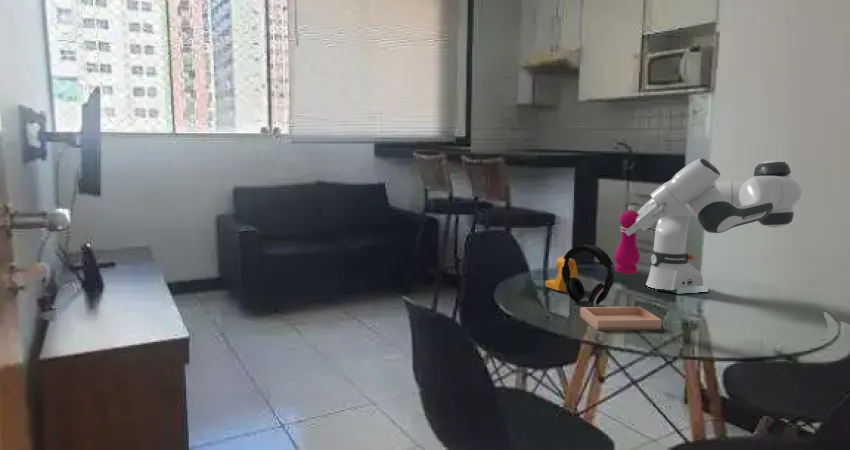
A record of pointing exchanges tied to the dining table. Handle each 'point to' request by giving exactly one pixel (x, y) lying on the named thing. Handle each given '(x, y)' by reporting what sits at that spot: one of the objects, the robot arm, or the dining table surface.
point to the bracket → (559, 281)
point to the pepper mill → (627, 245)
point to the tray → (620, 318)
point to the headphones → (575, 285)
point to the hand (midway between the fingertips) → (626, 232)
